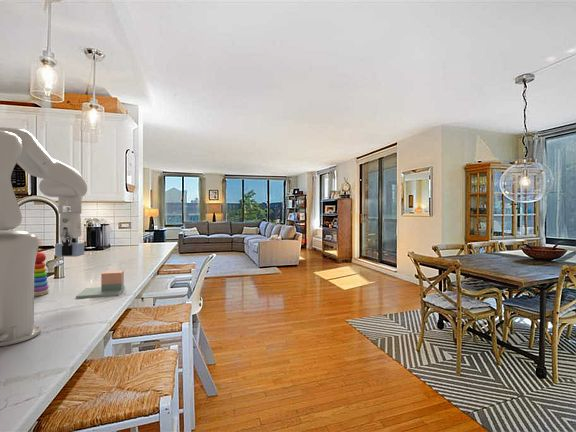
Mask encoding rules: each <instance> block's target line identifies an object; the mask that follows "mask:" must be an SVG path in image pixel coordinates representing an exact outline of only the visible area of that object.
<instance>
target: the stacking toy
mask: <svg viewBox="0 0 576 432" xmlns="http://www.w3.org/2000/svg"><path fill="white" fill-rule="evenodd" d="M46 259H47V257H46V254H45V253H44V252H41V251H37V256H36V260H35V268H34V297H39V296H43V295H46V294H49V292H50V289H49V287H50V286H49V284H48V283H49V281H48V280H47V279H48V276H47V274H48V273H47V267H46V263H45V261H46Z"/></svg>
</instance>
